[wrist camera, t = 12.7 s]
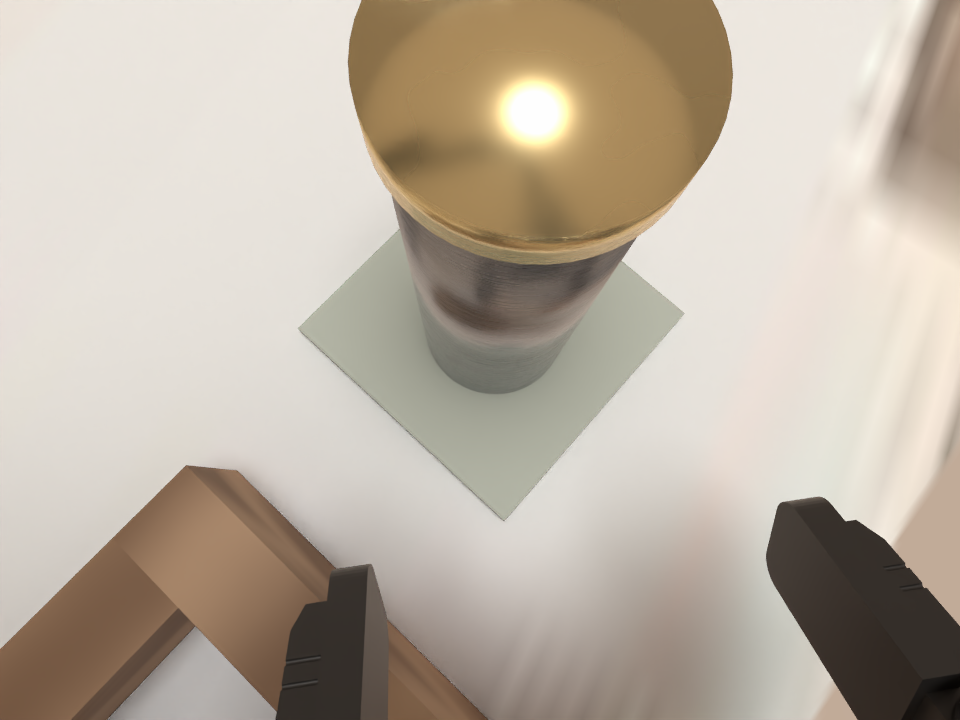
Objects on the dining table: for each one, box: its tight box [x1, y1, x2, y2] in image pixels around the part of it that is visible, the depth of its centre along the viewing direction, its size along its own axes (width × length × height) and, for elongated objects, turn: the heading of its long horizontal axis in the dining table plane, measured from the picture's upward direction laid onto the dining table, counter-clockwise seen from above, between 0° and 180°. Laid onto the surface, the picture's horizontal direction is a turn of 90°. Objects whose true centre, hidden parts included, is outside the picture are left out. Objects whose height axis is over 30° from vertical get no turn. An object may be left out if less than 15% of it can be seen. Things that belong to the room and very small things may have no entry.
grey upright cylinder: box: [348, 0, 733, 394], centre depth 15 cm, size 5×5×14 cm
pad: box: [298, 229, 685, 520], centre depth 22 cm, size 10×10×1 cm
